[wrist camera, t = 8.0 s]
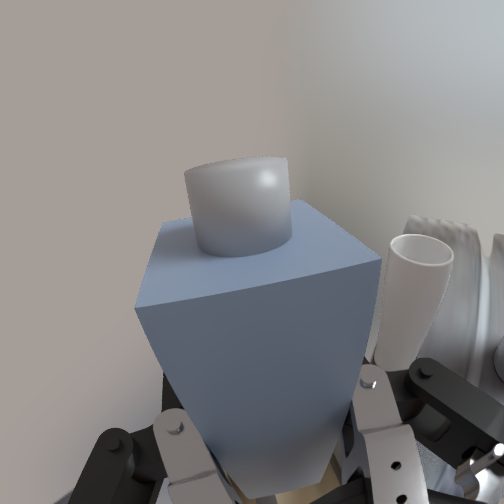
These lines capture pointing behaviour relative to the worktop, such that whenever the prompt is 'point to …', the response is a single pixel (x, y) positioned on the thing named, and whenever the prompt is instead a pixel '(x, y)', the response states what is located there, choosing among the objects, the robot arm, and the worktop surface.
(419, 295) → the drinking glass
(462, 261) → the worktop surface
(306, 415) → the blue square bottle
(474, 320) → the worktop surface
